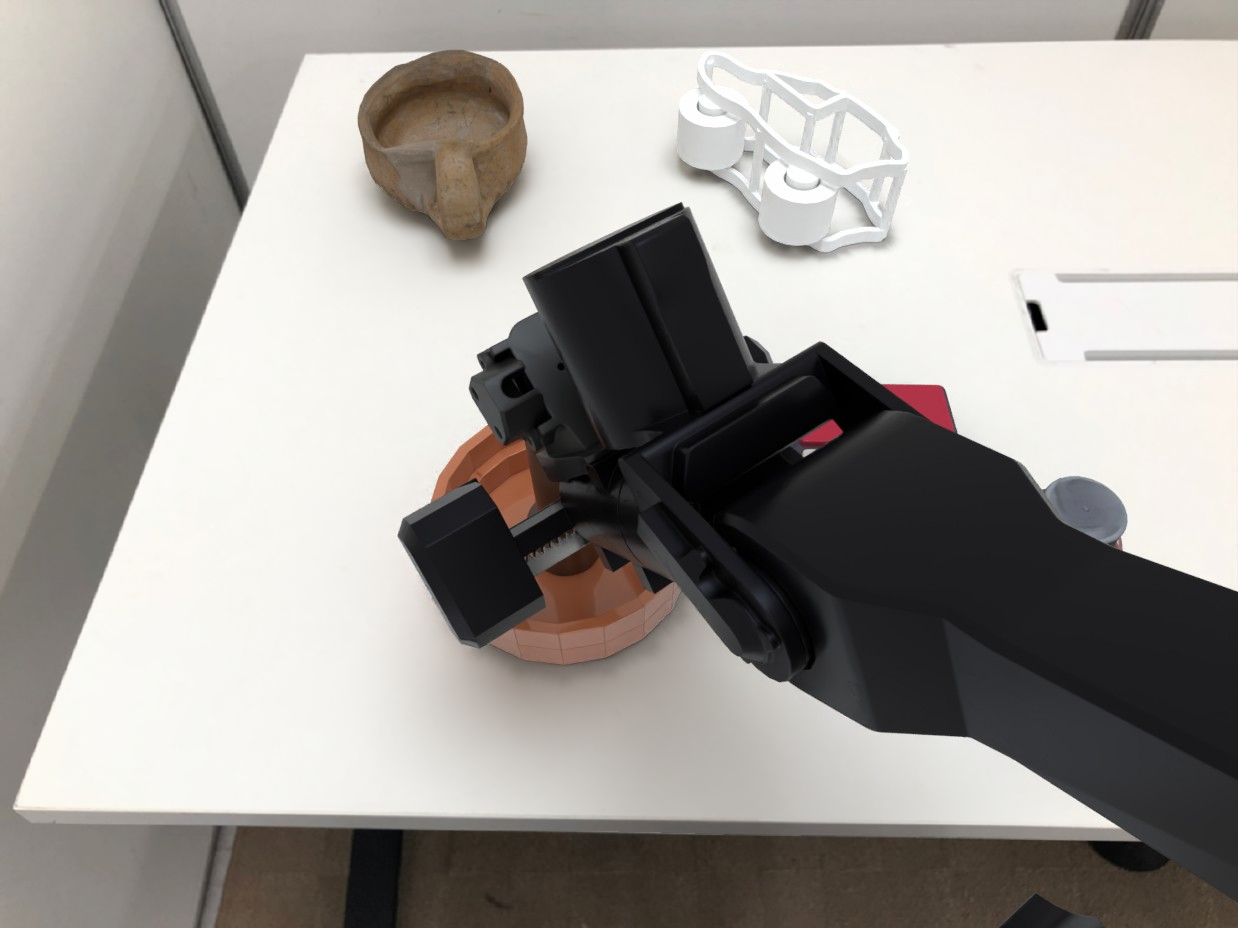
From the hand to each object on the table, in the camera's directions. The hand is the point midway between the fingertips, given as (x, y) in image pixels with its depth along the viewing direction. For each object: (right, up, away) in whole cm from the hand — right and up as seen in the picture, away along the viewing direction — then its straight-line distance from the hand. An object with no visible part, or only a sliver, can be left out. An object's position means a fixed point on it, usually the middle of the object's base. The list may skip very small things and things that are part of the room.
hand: (552, 465), depth 47 cm
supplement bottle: (+27, -9, +5) cm, 28 cm away
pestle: (0, -5, +7) cm, 8 cm away
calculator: (+18, -1, +10) cm, 20 cm away
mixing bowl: (0, -5, +7) cm, 9 cm away
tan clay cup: (-10, +23, +26) cm, 36 cm away
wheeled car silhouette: (+17, +23, +26) cm, 39 cm away
